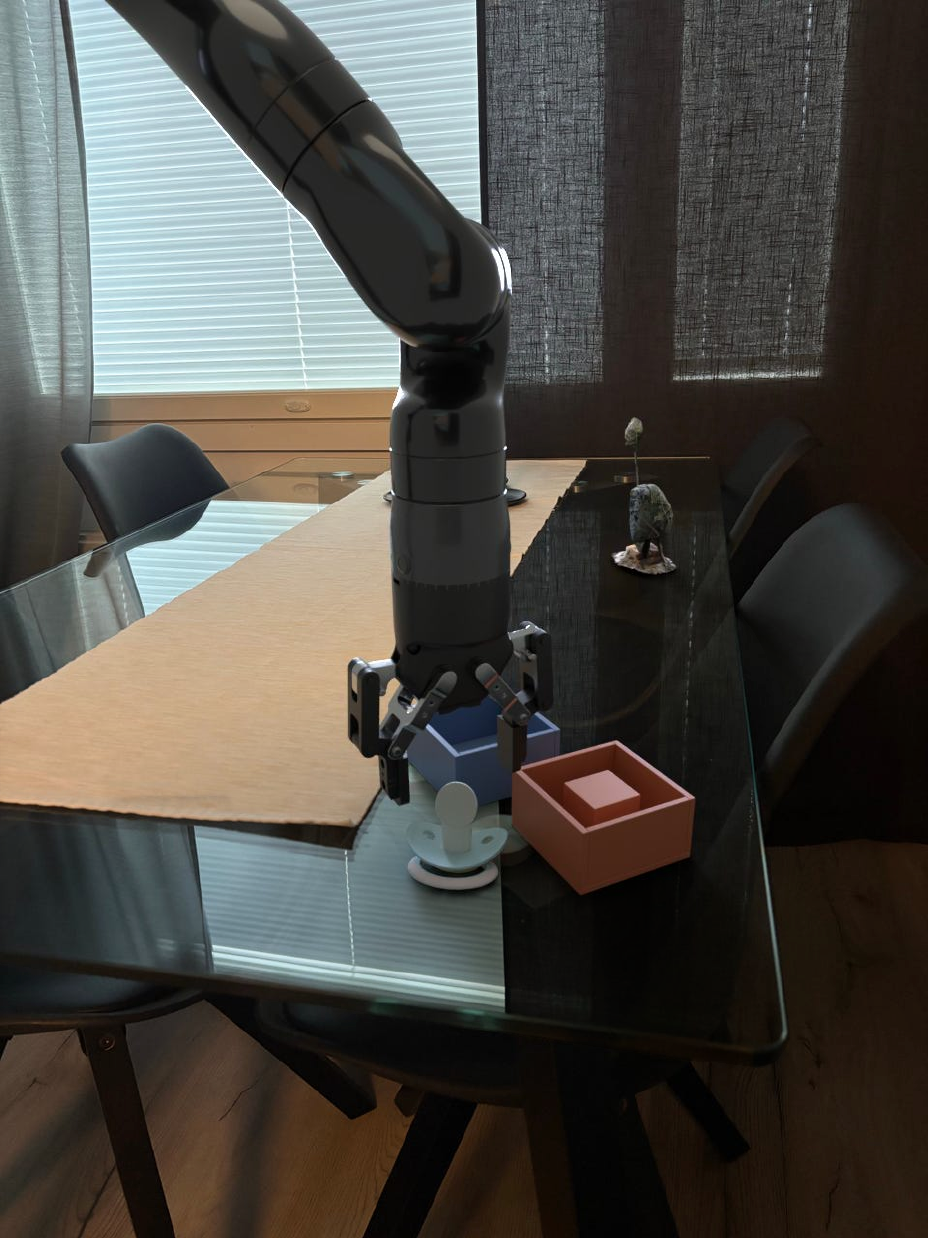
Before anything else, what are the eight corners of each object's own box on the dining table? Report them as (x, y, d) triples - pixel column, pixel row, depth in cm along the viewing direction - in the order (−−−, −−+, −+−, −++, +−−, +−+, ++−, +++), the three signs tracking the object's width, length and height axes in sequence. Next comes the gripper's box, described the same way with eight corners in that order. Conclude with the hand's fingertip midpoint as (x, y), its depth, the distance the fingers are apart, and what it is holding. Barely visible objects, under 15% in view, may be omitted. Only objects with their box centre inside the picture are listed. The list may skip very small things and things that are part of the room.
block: (592, 857, 68) (594, 809, 67) (561, 829, 72) (563, 782, 70) (637, 841, 70) (640, 794, 69) (605, 814, 73) (608, 769, 72)
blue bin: (455, 813, 75) (455, 757, 73) (406, 758, 83) (405, 707, 81) (558, 783, 79) (560, 729, 77) (502, 734, 87) (503, 684, 85)
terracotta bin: (580, 895, 65) (583, 834, 63) (511, 825, 73) (512, 768, 71) (690, 857, 69) (695, 797, 67) (613, 794, 77) (616, 739, 75)
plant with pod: (623, 581, 125) (632, 428, 117) (607, 555, 135) (615, 412, 128) (684, 580, 125) (697, 427, 118) (664, 554, 136) (675, 412, 128)
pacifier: (499, 901, 65) (510, 847, 70) (500, 824, 62) (510, 775, 68) (394, 890, 66) (413, 838, 71) (391, 815, 64) (410, 767, 69)
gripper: (518, 529, 66) (516, 736, 72) (322, 561, 60) (338, 784, 66) (579, 558, 60) (571, 782, 66) (367, 598, 54) (380, 840, 60)
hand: (455, 783), depth 66 cm, fingers open, 8 cm apart
